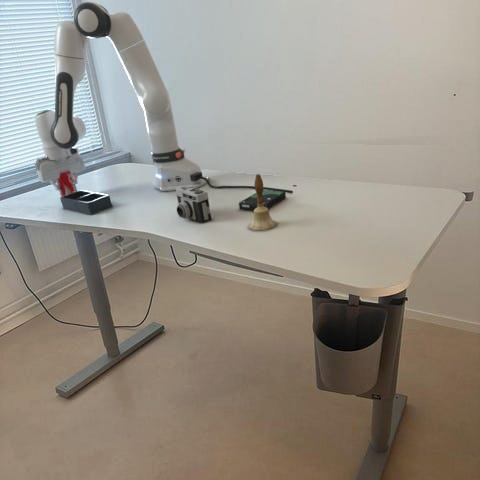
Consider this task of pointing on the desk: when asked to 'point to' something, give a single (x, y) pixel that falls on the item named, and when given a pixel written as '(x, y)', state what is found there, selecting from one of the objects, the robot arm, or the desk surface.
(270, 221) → the hand bell
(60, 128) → the robot arm
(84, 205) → the open box
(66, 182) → the soda can
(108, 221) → the desk surface
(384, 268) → the desk surface
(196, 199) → the camera
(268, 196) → the disk drive
